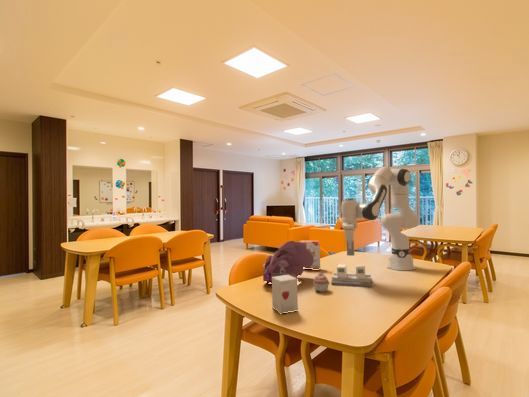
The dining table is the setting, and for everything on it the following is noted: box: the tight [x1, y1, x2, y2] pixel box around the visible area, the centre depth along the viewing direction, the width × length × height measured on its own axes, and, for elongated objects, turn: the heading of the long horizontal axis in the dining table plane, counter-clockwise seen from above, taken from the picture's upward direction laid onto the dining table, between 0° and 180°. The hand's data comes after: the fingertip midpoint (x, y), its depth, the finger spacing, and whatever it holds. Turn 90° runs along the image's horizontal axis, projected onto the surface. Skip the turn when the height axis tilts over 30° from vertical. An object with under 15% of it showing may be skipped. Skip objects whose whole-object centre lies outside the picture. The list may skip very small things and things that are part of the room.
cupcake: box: [312, 272, 331, 293], centre depth 158 cm, size 9×9×10 cm
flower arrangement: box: [262, 240, 314, 283], centre depth 175 cm, size 35×24×28 cm
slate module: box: [346, 238, 355, 256], centre depth 173 cm, size 6×4×9 cm, turn 161°
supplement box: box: [271, 275, 299, 313], centre depth 132 cm, size 9×9×15 cm
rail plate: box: [330, 263, 372, 288], centre depth 173 cm, size 19×22×9 cm
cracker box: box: [298, 239, 321, 269], centre depth 208 cm, size 14×6×21 cm, turn 68°
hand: (350, 247), depth 173 cm, fingers closed on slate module, 6 cm apart
